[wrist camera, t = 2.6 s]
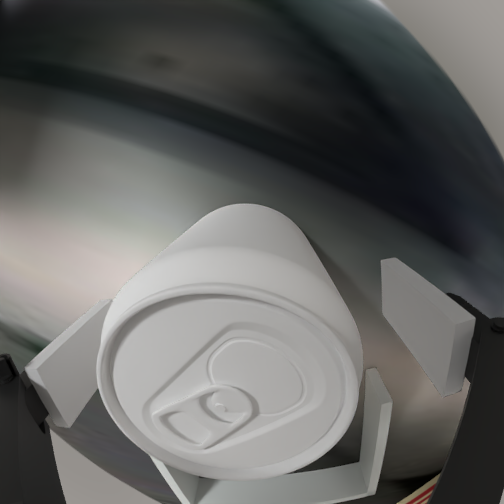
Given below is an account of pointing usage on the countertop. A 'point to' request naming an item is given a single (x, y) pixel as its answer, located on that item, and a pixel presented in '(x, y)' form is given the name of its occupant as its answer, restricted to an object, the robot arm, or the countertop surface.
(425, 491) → the milk carton
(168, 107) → the countertop surface
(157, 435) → the beverage can
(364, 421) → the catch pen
